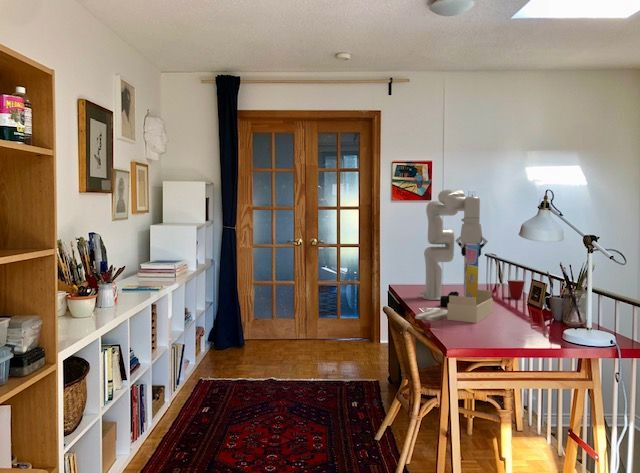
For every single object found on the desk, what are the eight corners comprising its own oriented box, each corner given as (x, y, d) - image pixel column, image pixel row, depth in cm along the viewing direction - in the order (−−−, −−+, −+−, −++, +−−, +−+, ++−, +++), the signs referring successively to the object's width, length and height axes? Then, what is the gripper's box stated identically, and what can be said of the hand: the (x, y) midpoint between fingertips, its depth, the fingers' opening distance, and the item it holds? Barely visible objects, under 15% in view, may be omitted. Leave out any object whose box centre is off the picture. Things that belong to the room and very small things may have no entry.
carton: (447, 319, 255) (447, 295, 254) (465, 310, 279) (465, 288, 278) (477, 322, 247) (477, 298, 246) (492, 313, 271) (492, 290, 270)
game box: (477, 301, 252) (478, 246, 251) (466, 300, 253) (467, 245, 252) (474, 294, 273) (475, 243, 271) (463, 293, 274) (464, 242, 272)
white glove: (415, 318, 257) (415, 315, 257) (432, 311, 277) (432, 308, 277) (436, 321, 251) (436, 318, 251) (452, 313, 271) (452, 310, 271)
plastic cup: (523, 297, 322) (523, 278, 321) (526, 300, 311) (527, 280, 311) (505, 297, 324) (505, 278, 324) (508, 299, 313) (508, 280, 313)
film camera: (442, 304, 299) (442, 289, 298) (459, 305, 295) (460, 289, 295) (439, 308, 285) (439, 292, 284) (457, 310, 281) (457, 293, 281)
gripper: (452, 221, 262) (451, 255, 263) (487, 221, 253) (486, 257, 254) (457, 220, 269) (456, 254, 270) (491, 221, 259) (490, 256, 260)
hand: (471, 255), depth 262 cm, fingers closed on game box, 6 cm apart
